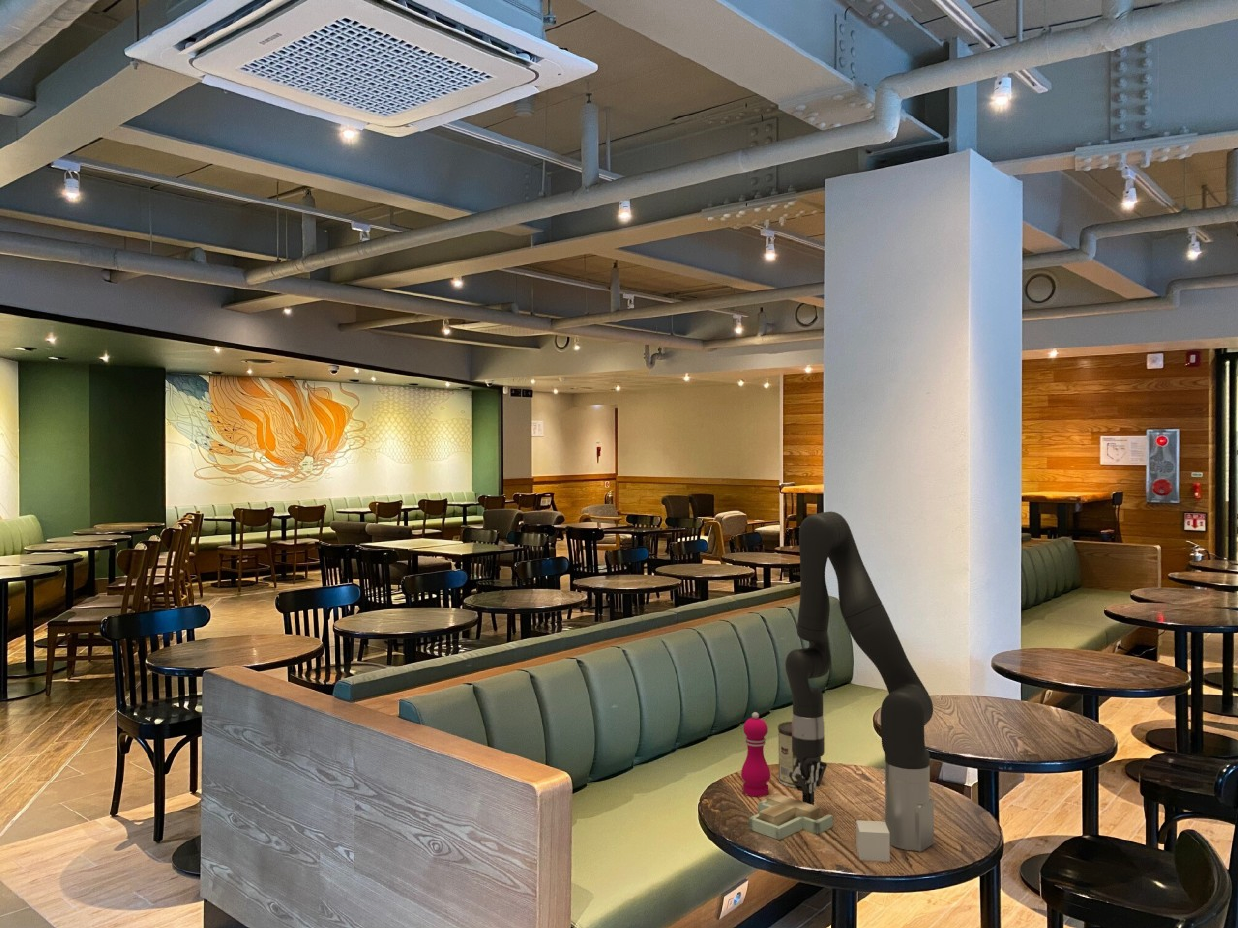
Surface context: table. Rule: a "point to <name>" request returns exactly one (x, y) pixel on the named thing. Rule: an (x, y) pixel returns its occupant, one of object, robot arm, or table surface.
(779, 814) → the t block
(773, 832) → the t dock
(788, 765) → the coffee can
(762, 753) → the pepper mill
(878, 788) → the table surface
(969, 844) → the table surface
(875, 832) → the beige cube
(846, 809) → the table surface
